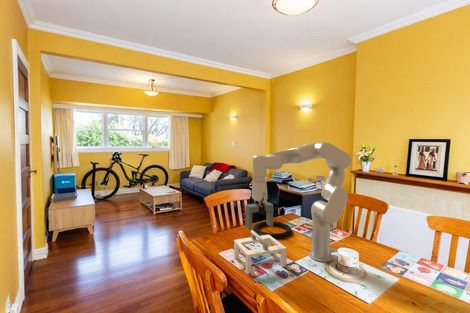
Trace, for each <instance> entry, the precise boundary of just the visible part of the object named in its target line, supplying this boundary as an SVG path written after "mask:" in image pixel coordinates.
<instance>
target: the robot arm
mask: <svg viewBox="0 0 470 313" xmlns="http://www.w3.org/2000/svg"><path fill="white" fill-rule="evenodd" d="M316 159H325V163H326V165H327V167H328V175H327V177H326V180H325V182H324V184H323V187H322V188H321V192H320V193H321V197H322V198H323V199H324V200H326V201H327V202H326V201H323V200H316V201H315V202H313V203H312V205H311V209H310V212H311V218H312V219H311V220H312V228H311V229H312V230H311V232H312V233H311V237H312V238H311V250H310V251H308V257H310V258H311V259H312V260H315V261H316V262H321V263H322V262H323V263H325V262H326V263H327V262H331V261H332V260H333V258H334V257H333V255H332V254H333V253H336V252H337V249H336V247H334V248H332V247H331V225H334V224H335V223H337V222H338V220H339V219H340V217H341V216H342V213H343V211H344V209H345V207H346V205H347V203H348V199H349V195H348V192H347V189H345V187H342V186H343V184H344V181H345V178H346V172H345V171H346V169H348V168H349V167H350V166H351V165H352V162H353V161H352V157H351V155H350V154H349V153H348V152H346V151H344V150H343V149H341V148H339V147H337V146H335V144H334V145H333V144H332V143H330V142H327V141H316V142H313V143H309V144H304V145H302V146H298V147H293V148H289V149H285V150H280V151H276V152H273V153H269V154H267V155H264V154H263V155H259V154H257V155H254V156H253V157H252V184H251V198H252V199H253V204H258V203H260V207H259V212H258V214H259V215H266V214H265V213H266V211H265V205H266V203H268V201H267V200H268V186H267V183H268V170H276V171H278V170H280V169H281V168H282V167H283V166H284V164H285V165H286V164H301V163H304V162H308V161H312V160H316ZM261 203H262V204H261Z"/></svg>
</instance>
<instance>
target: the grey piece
mask: <svg viewBox="0 0 470 313" xmlns="http://www.w3.org/2000/svg"><path fill="white" fill-rule="evenodd" d="M262 203H263V202H261V204H262ZM259 207H260V203H258V204H254V203H247V204H245V228H246V229H247V230H248V231H251V230H253V213H259ZM265 213H266V214H265V216H266V218H265V220H266V221H265V222H266V224H267V225H269V226H268V227H270V228H273V227H274V226H273V222H274V204H273V203H271V202H268V201H267V203H266V205H265Z"/></svg>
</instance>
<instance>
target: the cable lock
mask: <svg viewBox="0 0 470 313" xmlns="http://www.w3.org/2000/svg"><path fill="white" fill-rule="evenodd" d="M262 227H263V228H264V227H270V226H269V225H267V224H266V221H261V222H258V223H256V224H255V225H254V226H252V230H253V231H254V232H255V233H257V234H258V235H259V236H263V235H270V236H272V237H273V238H274V239H275V240H279V239H280V240H281V239H285V238H287V237H289V236H291V235H292V233H293V230H292V228H291V226H289V225H288V224H286V223H284V222H283V223H282V222H280V221H273V227H276V228H280V229H284V230H285V231H284V232H277V233H276V232H275V233H273V232H266V231H263V230H260V228H262Z"/></svg>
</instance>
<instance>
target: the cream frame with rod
mask: <svg viewBox="0 0 470 313" xmlns="http://www.w3.org/2000/svg"><path fill="white" fill-rule="evenodd" d="M250 233H251V237H244V238H238V239H233V258H234V259H235V260H240V251H241V253H243V255H244V256H245V273H246V274H248V275H250V274H249V273H251V274H252V258H254V257H260V256H265V255H270V254H276V253H280V260H279V261H280V267H282V268H286V267H287V247H286V246H285V245H283V244H282V243H281V242H280V241H279V240H278V239H274V238H273V237H272V236H270V235H263V236H259V235H258V234H257V233H255V232H254V231H253V229H252V230H250ZM255 243H262V247H260V248H253V249H249V250H248V248H246V247H245V245H250V244H255ZM272 244H273V245H272Z"/></svg>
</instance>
